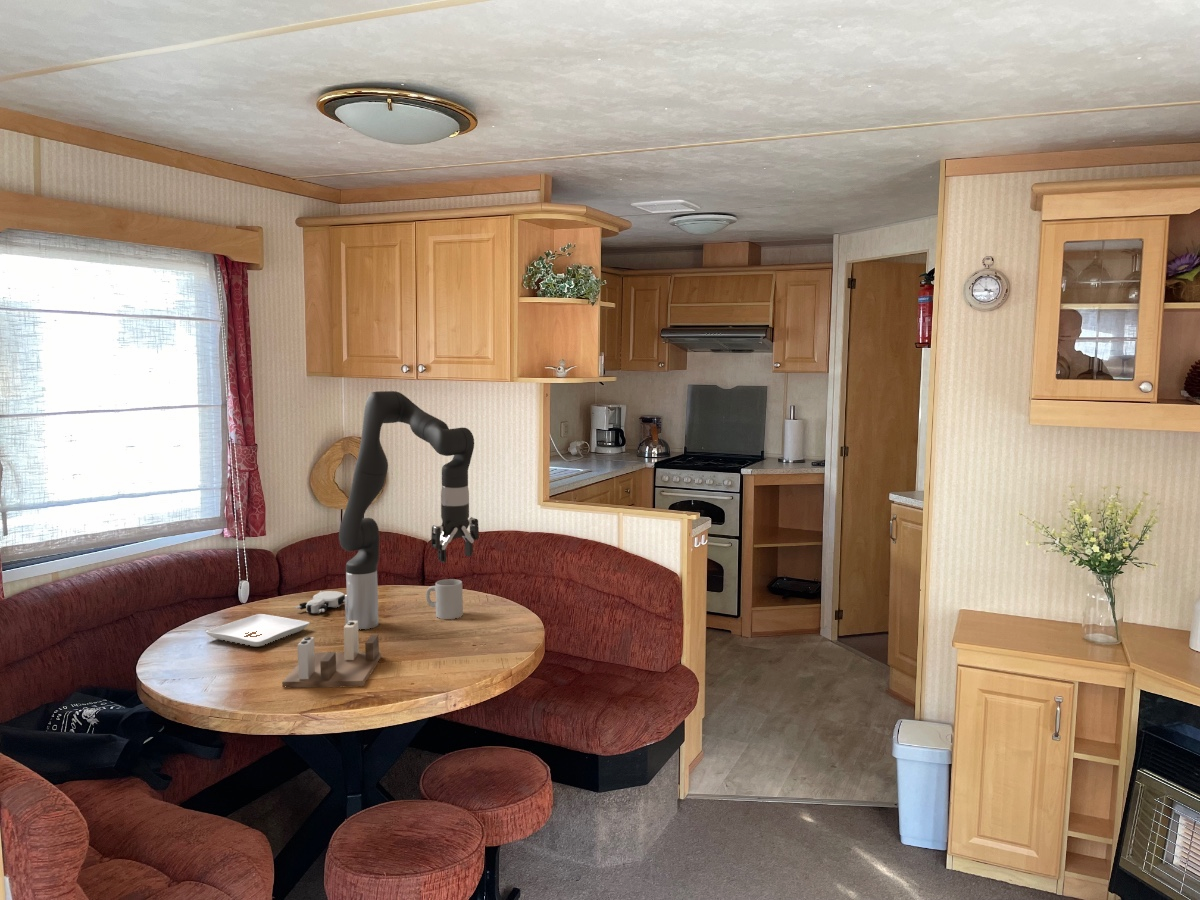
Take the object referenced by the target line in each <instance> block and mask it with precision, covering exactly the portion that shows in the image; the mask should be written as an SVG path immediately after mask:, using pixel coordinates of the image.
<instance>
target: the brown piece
mask: <svg viewBox="0 0 1200 900" xmlns="http://www.w3.org/2000/svg"><path fill="white" fill-rule="evenodd" d="M379 643H380V642H379V634H371V635H370V636H369V637H368V639H366V641H365V645H364V647H365V649H364V651H359V653H358V655H357V656H356V657H355V659H354V660H345V656H344V651H341V652H340V651H338V652H337V651H328V652H315V672H314V673H313V674H312V675H311V677H310V678H309V679H299V672H298V663H297V664H296V665H295V667H294V668H293V669H292V670H291V671H290V672H289V673H288V674H287V676H286V677H284V679H283V680H282V681H281V682H282V683H281V684H282V687H285V686H286V687H290V688H344V687H343V686H363V687H364V686H365V684H366V682H367V681H366V680H368V679H369V677H370V676H371V674H372V673H371V672H373V671H374V670H373V669H375V668H376V666H377V665H378V663H379V662H380V660H381V658H382V652H381V651H380V649H379V648H380V647H379V646H380V644H379ZM379 659H380V660H379ZM378 661H379V662H378ZM377 662H378V663H377ZM376 664H377V665H376ZM374 667H375V668H374ZM372 670H373V671H372ZM370 673H371V674H370ZM369 675H370V676H369ZM367 678H368V679H367ZM365 681H366V682H365ZM364 683H365V684H364ZM340 686H342V687H340Z"/></svg>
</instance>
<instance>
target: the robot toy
mask: <svg viewBox="0 0 1200 900" xmlns="http://www.w3.org/2000/svg"><path fill="white" fill-rule="evenodd" d="M345 595H346V594H345V593H344V592H341V591H337V590H335V591H334V590H324V591H322V590H320V591H319V592H317V593H316V594H314V595H313V596H312V599H309V600H308V601H307V602H302V603H301V602H300V603H299V605H295V607H294V608H295V609H296V610H306V613H311V614H320V613H325V612H327V610H328V608H334V609H335V608H336V609H337V607H338V608H339V607H341V606H342V605H343V604H345Z"/></svg>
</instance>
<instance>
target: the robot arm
mask: <svg viewBox="0 0 1200 900" xmlns="http://www.w3.org/2000/svg"><path fill="white" fill-rule="evenodd" d="M394 423H403V424H407V425H409V426H410V427H409V428H410V430H411V431H412V433H413V434H414V435H415V436H416V437H418V438H419V439H421V440H423V441H424V442H427V443H429V444H430V446H431V448H433V450H435V452H436V453H437V454H439V455H441V456H446V457H449V456H452V460H451V461H448V462H447V463H445V464H444V465H442V467H441V491H440V513H441V515H440V517H441V521H442V523H441V525H435V524H434V525H432V526H431V533H430V534H431V536H430V537H431V541H430V546H431V548H434V549H437V559H438V561H439V562H440V563H442V564H445V563H447V546H448V545H449V544H450V543H451V542H452V540H456V539H457V538H459V539H461V538H463V539H464V540H465V541H464V555H465V556H466V557H471V556H473V552H474V550H473V549H474V542H475V541H476V540H479V539H480V533H479V530H480V528H479V519H477V518H475V517H471V516H470V490H469V467H470V464H471V461H472V456H473V453H474V449H475V439H474V435H473V433H472V431H471V430H470V429H469V428H467V427H455V428H449V426H448V424H447V423H446V422H445V421H443V420H441V419H439V418H437V417H436V416H434V415H432V414H430V413H428V412H426V411H424V410H423V409H421V408H420V407H419V406H418V405H416V404H415V403H414V402H413V401H412V400H411V399H410V398H408V396H406V395H404V394H403V393H402V392H399V391H395V390H394V391H393V390H390V391H388V390H385V391H384V390H381V391H379V390H378V391H372V392H370V394H369V395H368V396H367V398H366V401H365V404H364V412H363V419H362V428H361V429H362V431H361V438H360V442H359V443H360V444H359V447H358V448H359V449H358V453H357V459H356V463H355V467H354V473H353V477H352V483H351V487H350V493H349V496H348V501H347V504H346V507H345V510H344V514H343V516H342V519H341V521H340V526H339V530H338V531H339V532H338V540H339V541H338V542H339V545H340V546H341V549H343V550H344V551H346V552H356V551H357V553H356V554H355V555H354V556H353V557H352V558H350V559H349V560H348V561H347V562H346V564H345V579H346V581H345V582H346V585H345V586H346V594H345V603H344V615H345V625H346V624H347V623H348V622H349V621H358V631H361V629H365V630H370V628H371V629H375V628H376V627H378V626H379V625H380V624H379V622H380V620H379V595H378V594H379V593H378V592H379V591H378V590H379V589H378V588H379V587H378V563H379V562H380V561H379V560H380V528H379V525H378V524H377V522H376V520H374V519H373V518H371V517H364V516H365V514H366V512H367V510H368V508H369V507H370V505H371V504H372V503H373V502H374V501H375V499H376V498H377V497H378V496H379V494H380V493H381V491H382V490H383V488H384V486H385V483H386V478H387V474H388V468H389V463H388V459H387V456H386V453H385V451H384V449H383V447H382V443H381V439H380V438H381V429H382V425H383V424H394ZM468 528H469V531H468ZM359 629H360V630H359Z"/></svg>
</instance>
